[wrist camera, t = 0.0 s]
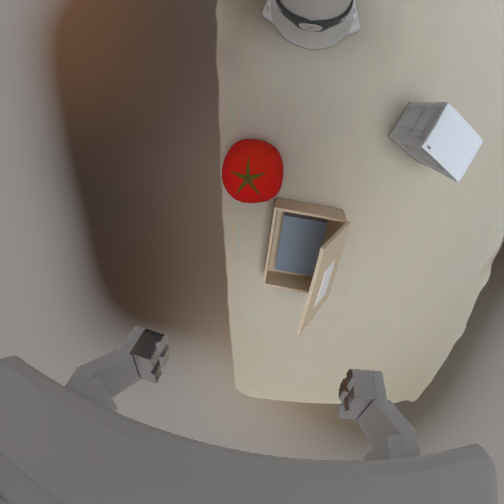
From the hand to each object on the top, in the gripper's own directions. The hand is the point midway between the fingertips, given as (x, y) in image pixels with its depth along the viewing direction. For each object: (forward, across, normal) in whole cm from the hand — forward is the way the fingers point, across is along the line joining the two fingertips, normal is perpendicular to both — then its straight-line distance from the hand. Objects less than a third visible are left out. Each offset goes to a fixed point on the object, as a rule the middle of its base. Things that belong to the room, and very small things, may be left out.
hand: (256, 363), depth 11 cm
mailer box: (+48, -5, +17) cm, 51 cm away
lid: (+35, -9, +17) cm, 40 cm away
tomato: (+48, +7, +2) cm, 49 cm away
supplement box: (+48, -24, -12) cm, 55 cm away
